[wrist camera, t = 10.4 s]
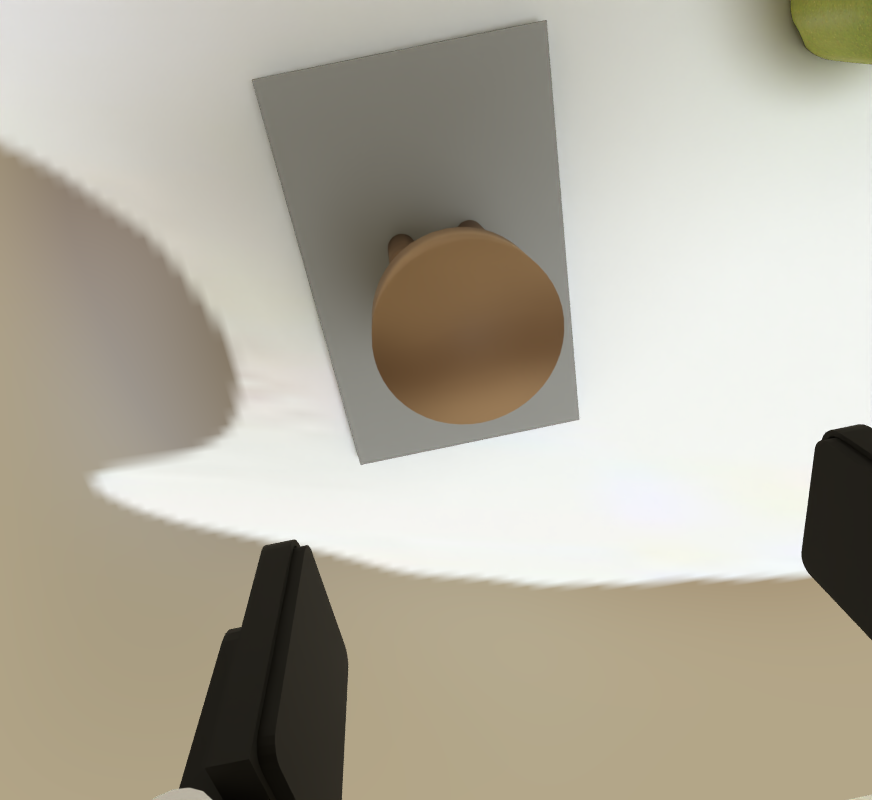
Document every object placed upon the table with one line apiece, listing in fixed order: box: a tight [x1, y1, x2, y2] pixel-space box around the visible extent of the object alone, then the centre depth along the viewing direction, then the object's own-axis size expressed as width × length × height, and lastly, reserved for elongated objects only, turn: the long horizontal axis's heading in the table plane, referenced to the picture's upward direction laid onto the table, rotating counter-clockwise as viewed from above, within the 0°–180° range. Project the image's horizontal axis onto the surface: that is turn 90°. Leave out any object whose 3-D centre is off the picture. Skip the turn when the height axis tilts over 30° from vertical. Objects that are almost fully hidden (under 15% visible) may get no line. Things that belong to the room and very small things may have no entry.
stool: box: [372, 220, 564, 424], centre depth 25 cm, size 7×7×10 cm
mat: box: [252, 20, 579, 465], centre depth 30 cm, size 20×13×1 cm, turn 10°
